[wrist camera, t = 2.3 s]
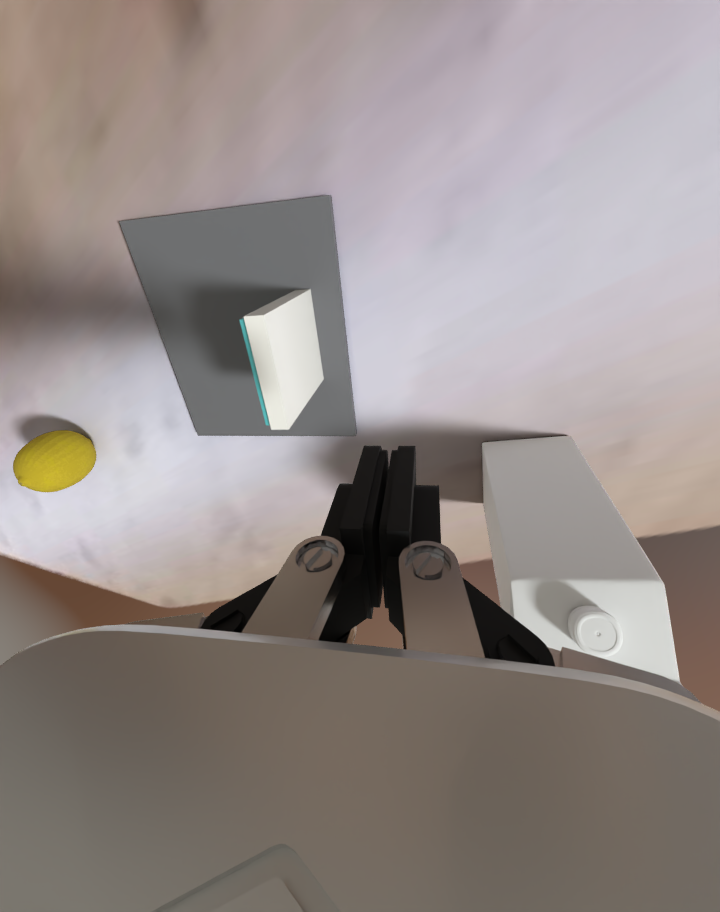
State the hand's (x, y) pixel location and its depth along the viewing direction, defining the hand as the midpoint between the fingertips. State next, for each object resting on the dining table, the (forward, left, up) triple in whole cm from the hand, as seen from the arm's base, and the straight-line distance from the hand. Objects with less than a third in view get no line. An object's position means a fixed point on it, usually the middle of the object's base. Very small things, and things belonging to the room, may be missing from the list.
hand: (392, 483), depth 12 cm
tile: (0, -8, -19) cm, 21 cm away
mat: (0, -13, -19) cm, 24 cm away
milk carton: (+13, +10, -20) cm, 25 cm away
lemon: (+10, -35, -20) cm, 42 cm away
